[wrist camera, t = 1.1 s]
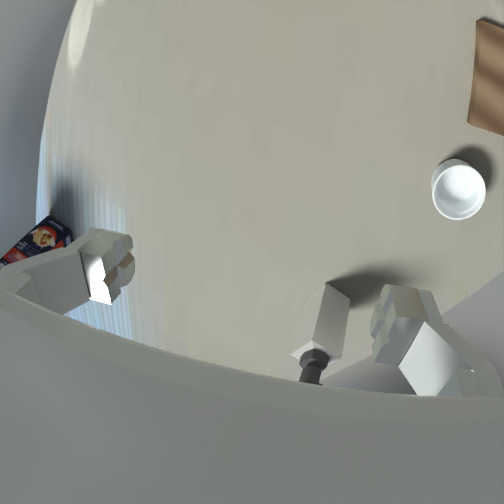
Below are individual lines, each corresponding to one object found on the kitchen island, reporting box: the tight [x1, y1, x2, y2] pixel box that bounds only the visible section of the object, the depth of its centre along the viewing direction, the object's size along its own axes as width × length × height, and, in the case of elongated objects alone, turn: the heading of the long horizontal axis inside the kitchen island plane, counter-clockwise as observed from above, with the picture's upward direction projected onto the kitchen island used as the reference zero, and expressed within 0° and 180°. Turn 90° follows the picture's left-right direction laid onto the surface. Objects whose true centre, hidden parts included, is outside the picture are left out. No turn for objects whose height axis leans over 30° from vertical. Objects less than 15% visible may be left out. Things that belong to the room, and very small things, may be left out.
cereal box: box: [0, 216, 72, 270], centre depth 75 cm, size 27×11×32 cm, turn 158°
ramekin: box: [431, 159, 486, 220], centre depth 39 cm, size 9×9×4 cm
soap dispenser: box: [290, 283, 351, 386], centre depth 55 cm, size 6×9×22 cm
